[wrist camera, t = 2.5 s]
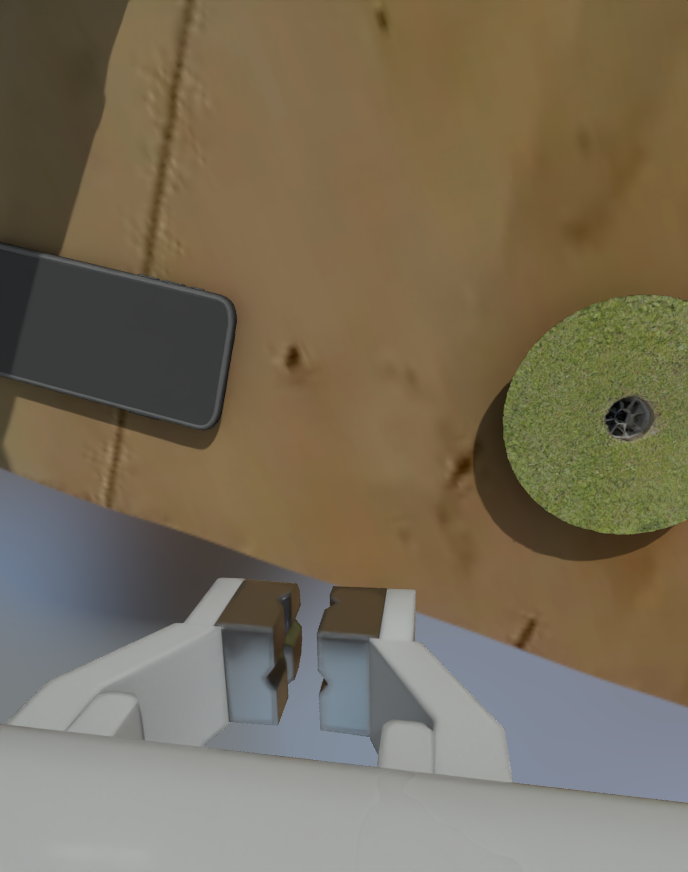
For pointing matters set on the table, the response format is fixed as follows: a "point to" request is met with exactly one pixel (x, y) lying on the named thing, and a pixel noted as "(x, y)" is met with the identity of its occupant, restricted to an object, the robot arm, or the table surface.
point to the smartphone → (115, 337)
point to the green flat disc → (606, 416)
